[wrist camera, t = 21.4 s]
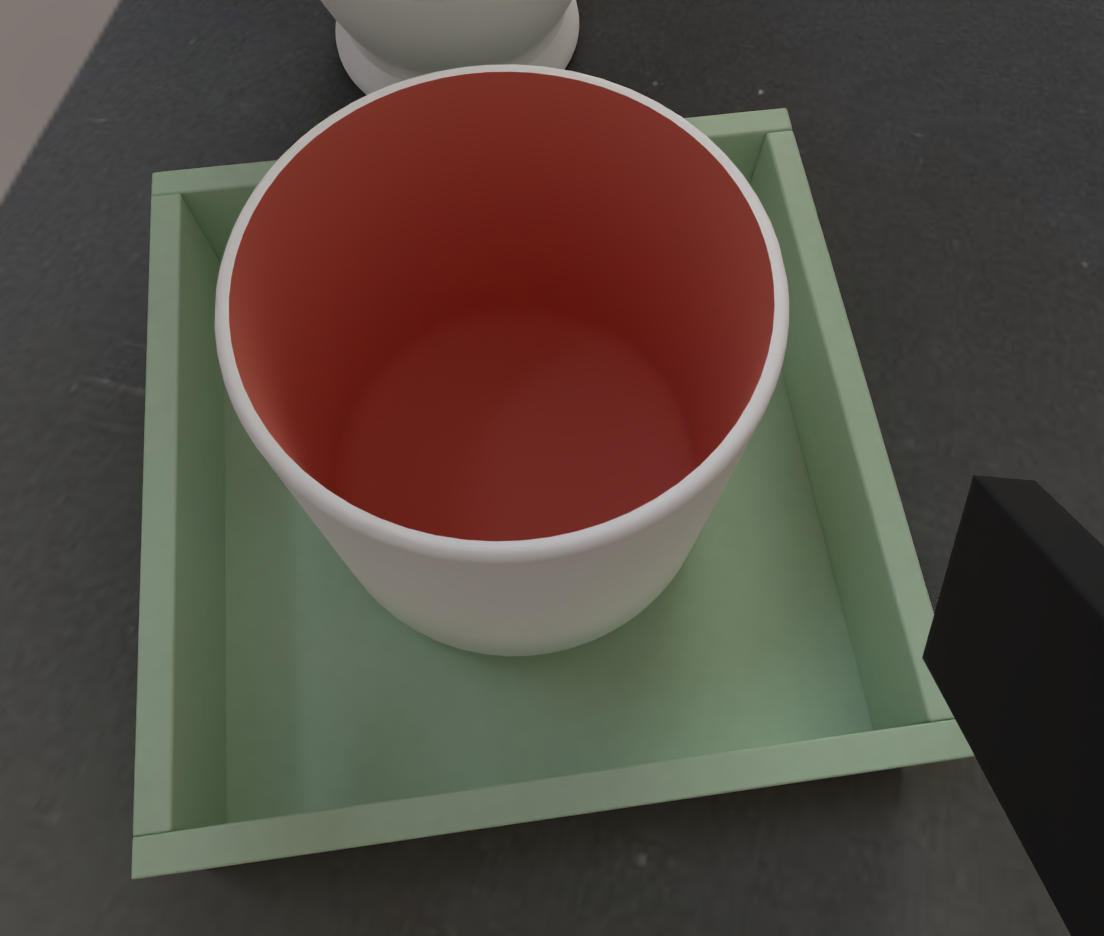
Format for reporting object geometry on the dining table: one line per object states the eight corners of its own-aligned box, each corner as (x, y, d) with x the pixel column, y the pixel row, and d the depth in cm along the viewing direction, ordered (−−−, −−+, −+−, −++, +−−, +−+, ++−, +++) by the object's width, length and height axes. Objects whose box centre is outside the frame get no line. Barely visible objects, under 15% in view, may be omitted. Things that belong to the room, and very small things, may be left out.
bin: (204, 259, 28) (150, 171, 24) (755, 199, 29) (787, 106, 25) (202, 869, 22) (129, 880, 18) (905, 767, 23) (977, 755, 19)
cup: (738, 629, 24) (865, 502, 14) (354, 697, 23) (223, 611, 14) (656, 301, 27) (714, 29, 18) (321, 351, 26) (200, 96, 17)
